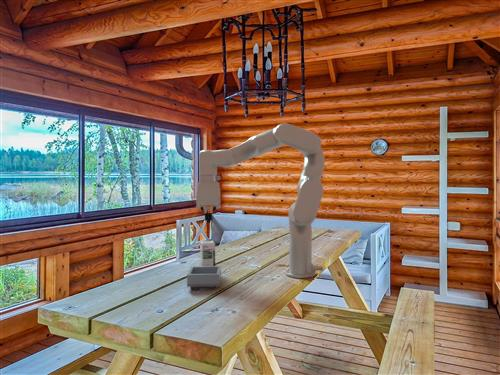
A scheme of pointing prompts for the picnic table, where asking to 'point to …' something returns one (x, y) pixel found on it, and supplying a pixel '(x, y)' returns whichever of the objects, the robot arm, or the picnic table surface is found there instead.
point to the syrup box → (207, 253)
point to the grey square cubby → (204, 276)
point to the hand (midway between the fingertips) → (208, 222)
